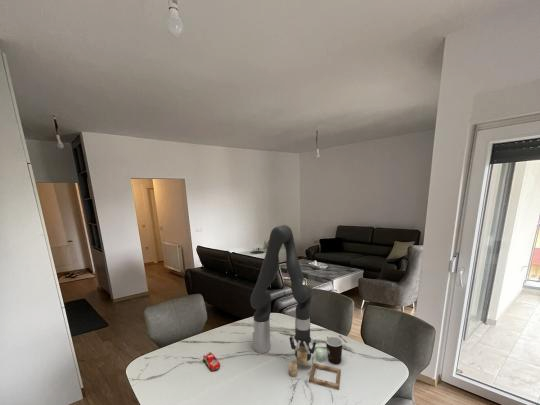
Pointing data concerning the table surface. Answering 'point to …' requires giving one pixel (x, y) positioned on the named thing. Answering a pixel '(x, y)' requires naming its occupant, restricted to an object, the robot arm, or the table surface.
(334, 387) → the walnut tray
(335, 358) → the coffee mug
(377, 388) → the table surface
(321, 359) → the pale green rounded cylinder
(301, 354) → the oak block
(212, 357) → the race car
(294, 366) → the cork cylinder
